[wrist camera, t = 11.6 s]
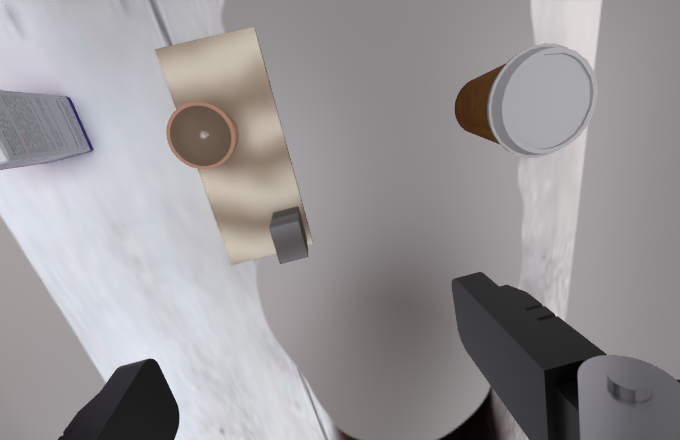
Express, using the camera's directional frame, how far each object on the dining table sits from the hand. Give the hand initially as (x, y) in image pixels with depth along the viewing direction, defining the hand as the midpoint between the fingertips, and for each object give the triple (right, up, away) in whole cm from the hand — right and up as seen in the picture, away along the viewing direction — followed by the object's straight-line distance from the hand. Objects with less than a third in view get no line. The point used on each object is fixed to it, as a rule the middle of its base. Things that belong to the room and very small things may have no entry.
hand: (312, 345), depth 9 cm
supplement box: (-29, +13, +28) cm, 42 cm away
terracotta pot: (-13, +13, +28) cm, 33 cm away
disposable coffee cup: (+17, +17, +32) cm, 40 cm away
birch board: (-10, +11, +30) cm, 34 cm away
